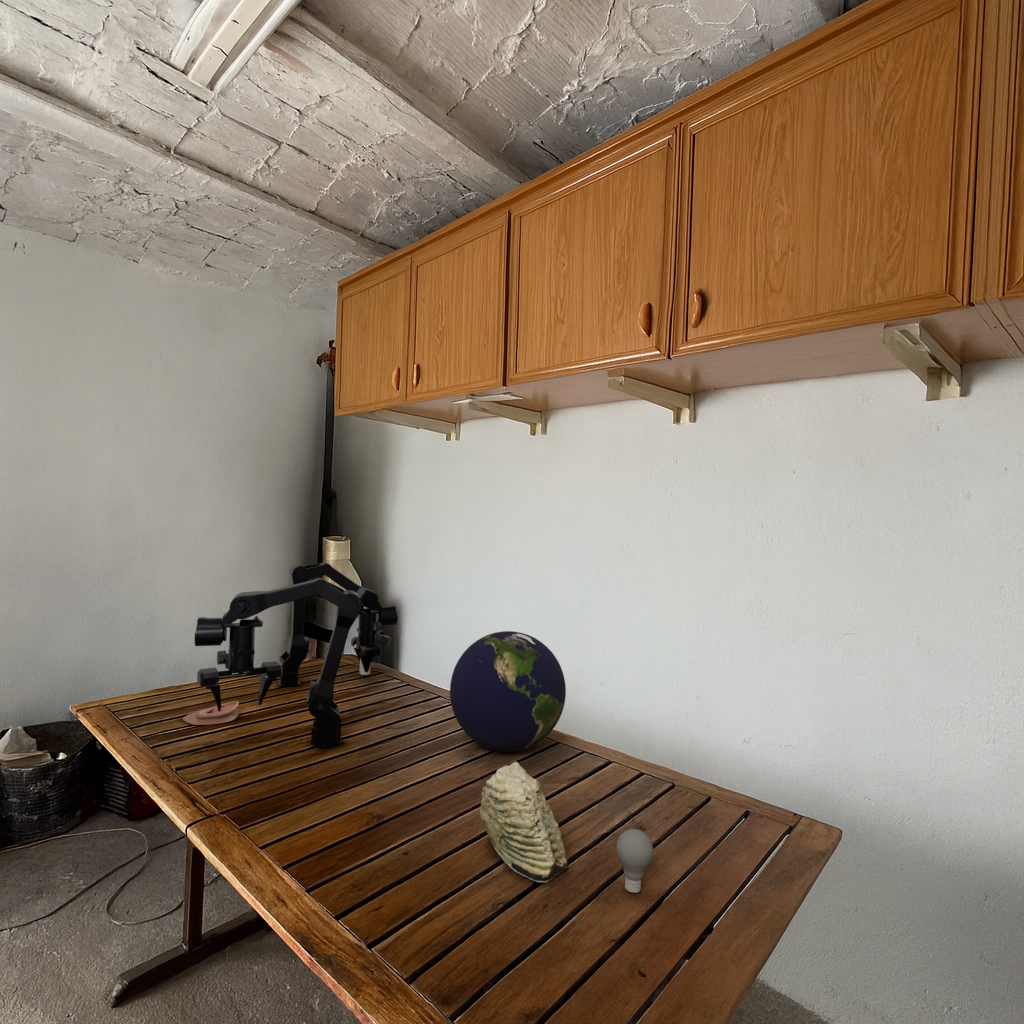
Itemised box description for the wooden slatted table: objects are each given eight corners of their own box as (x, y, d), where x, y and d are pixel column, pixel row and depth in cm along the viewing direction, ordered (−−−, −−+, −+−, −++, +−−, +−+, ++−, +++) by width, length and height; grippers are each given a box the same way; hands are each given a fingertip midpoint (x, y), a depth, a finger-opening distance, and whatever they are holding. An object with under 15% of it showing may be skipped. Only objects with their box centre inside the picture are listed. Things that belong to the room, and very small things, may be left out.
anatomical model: (175, 707, 171) (204, 695, 183) (174, 722, 172) (203, 709, 183) (218, 713, 169) (245, 700, 180) (218, 728, 169) (244, 714, 180)
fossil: (501, 827, 124) (504, 751, 124) (575, 868, 111) (578, 784, 111) (467, 843, 118) (470, 763, 118) (541, 889, 105) (545, 799, 105)
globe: (494, 719, 185) (499, 617, 185) (584, 745, 168) (589, 633, 167) (423, 749, 161) (428, 631, 160) (519, 784, 143) (525, 652, 143)
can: (359, 675, 220) (360, 660, 220) (359, 672, 224) (359, 658, 224) (370, 674, 221) (371, 660, 221) (370, 671, 225) (370, 657, 225)
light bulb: (610, 879, 108) (613, 822, 108) (644, 879, 109) (647, 822, 109) (619, 902, 102) (622, 840, 102) (655, 901, 103) (658, 840, 103)
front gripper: (273, 634, 167) (270, 693, 167) (194, 641, 156) (192, 704, 157) (284, 643, 158) (282, 706, 158) (201, 651, 147) (199, 717, 148)
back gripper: (397, 630, 218) (395, 675, 218) (381, 620, 234) (380, 662, 234) (364, 632, 212) (362, 678, 213) (351, 621, 229) (349, 664, 229)
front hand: (239, 707), depth 155 cm, fingers open, 9 cm apart
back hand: (364, 670), depth 222 cm, fingers closed on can, 4 cm apart
